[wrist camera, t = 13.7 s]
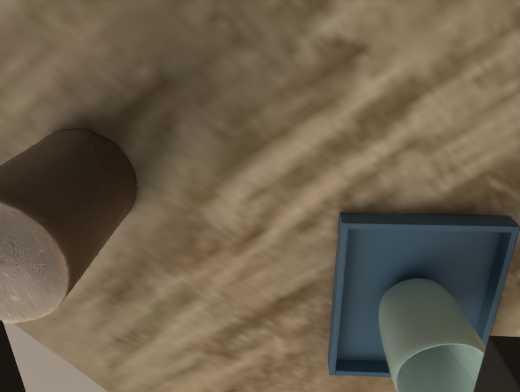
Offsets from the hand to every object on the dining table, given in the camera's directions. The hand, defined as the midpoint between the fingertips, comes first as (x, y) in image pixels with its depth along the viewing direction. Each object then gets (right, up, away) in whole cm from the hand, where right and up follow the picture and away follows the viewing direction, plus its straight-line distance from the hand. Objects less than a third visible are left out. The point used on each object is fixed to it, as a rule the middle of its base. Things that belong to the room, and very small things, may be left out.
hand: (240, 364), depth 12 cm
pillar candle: (-15, +6, +28) cm, 32 cm away
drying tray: (+16, -5, +31) cm, 35 cm away
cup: (+16, -5, +31) cm, 35 cm away
